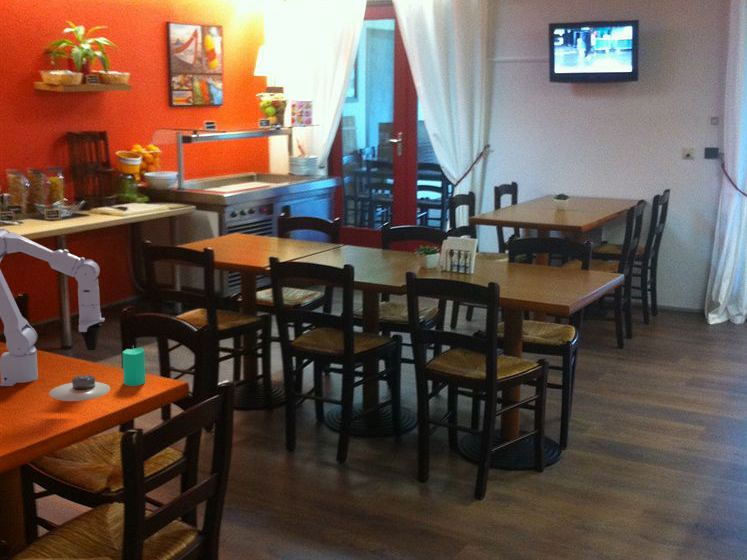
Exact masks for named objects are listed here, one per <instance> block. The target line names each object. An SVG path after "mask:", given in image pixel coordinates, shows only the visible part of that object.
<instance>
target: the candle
mask: <svg viewBox="0 0 747 560" xmlns="http://www.w3.org/2000/svg"><path fill="white" fill-rule="evenodd" d="M134 347H135V346H132V348H131V349H130V348H126V349H125V350H123V351H122V367H123V368H122V370H123V371H122V372H123V384H124V385H126V386H132V387H134V386H135V387H136V386H141V385H143V384H145V383H146V363H145V349H143V348H142V347H136V348H134Z"/></svg>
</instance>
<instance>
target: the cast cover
mask: <svg viewBox="0 0 747 560" xmlns="http://www.w3.org/2000/svg"><path fill="white" fill-rule="evenodd" d="M95 382H96V377H95V376H93V375H90V374H82V375H77V376H74V377H73V378H72V382H71V383H72V384H73V389H75V390H88V389H92V388H94V387H95Z"/></svg>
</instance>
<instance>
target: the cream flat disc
mask: <svg viewBox="0 0 747 560" xmlns="http://www.w3.org/2000/svg"><path fill="white" fill-rule="evenodd" d="M110 391H111V387H110V386H109V385H108V384H106V383H103V382H99V381H95V387H94V388H92V389H88V390H75V389H73V384H72V382H69V383H64V384H61V385H58V386H56V387H54V388H52V389H51V390H50V391H49V393H48V395H49V397H50V398H52V399H55V400H59V401H63V402H80V401H82V402H83V401H88V400H93V399H97V398H100V397H103V396H105V395H107V394H108V393H109V392H110Z"/></svg>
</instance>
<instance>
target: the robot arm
mask: <svg viewBox="0 0 747 560" xmlns="http://www.w3.org/2000/svg"><path fill="white" fill-rule="evenodd" d="M19 252H21V253H23V254H26V255H29V256H31V257H34V258H37V259H39V260H42V261H45V262H48V264H49V266H50V268H51V269H53V270H55V271H58V272H60V273H62V274H65V275H67V276H69V277H71V278H75V280H76V282H77V296H78V297H77V298H78V311H79V312H78V314H79V315H78V317H79V318H78V332H79V333H80V334H81V335H82V337H83V340H84V344H85V347H86V349H87V351H96V349H97V347H98V346H97V345H98V340H99V336H100V333H101V330H102V328H103V322H105V320H106V319H105V317H102V312H101V305H100V304H101V301H100V297H101V296H100V286H99V278H98V277H99V275H100V269H101V268H100V266H99V264H98V263H97V262H96V261H94V260H93V259H86V258H85V257H83V256H82V257H78V256H77V255H75V254H72V253H70V251H69V249H65V248H64V249H63V250H62V249H57V250H52V249H50V248H47V247H45V246H44V245H41V244H39V243H37V242H35V241H33V240H30V239H29V238H26V237H24V236H22V235H20V234H19V233H17V232H14V231H9V230H8V229H5V228H0V263H1V261H2V260H3V258H4V256H5V255H6V254H12V253H19ZM15 300H16V299H15V298H14V296H13V293H12V292H11V290H10V288H9V285H8V283H7V281H6V279H5V277H4V274H3V272H2V270H1V269H0V319H1V321H2V323H3V335H4V337H5V342H6V343H5V346H6V349H7V351H5V352H2V354H1V356H0V382H1V383H0V387H13V386H14V385H16V383H18V384H19V383H20V384H22V383H23V384H24V383H30V382H33V381H36V380H38V378H39V374H38V373H39V371H38V357H37V356H38V354H37V348H36V346H35V344H36V343H37V341H38V333H37V331H36V330H35V328H33V327H32V326H31V325H30V323H29V322H28V320H27V319H26V318H25V317H24V316H23V315H22V313H21V312H20V311H21V310H20V309H19V307H18V305H17V303H16V301H15Z"/></svg>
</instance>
